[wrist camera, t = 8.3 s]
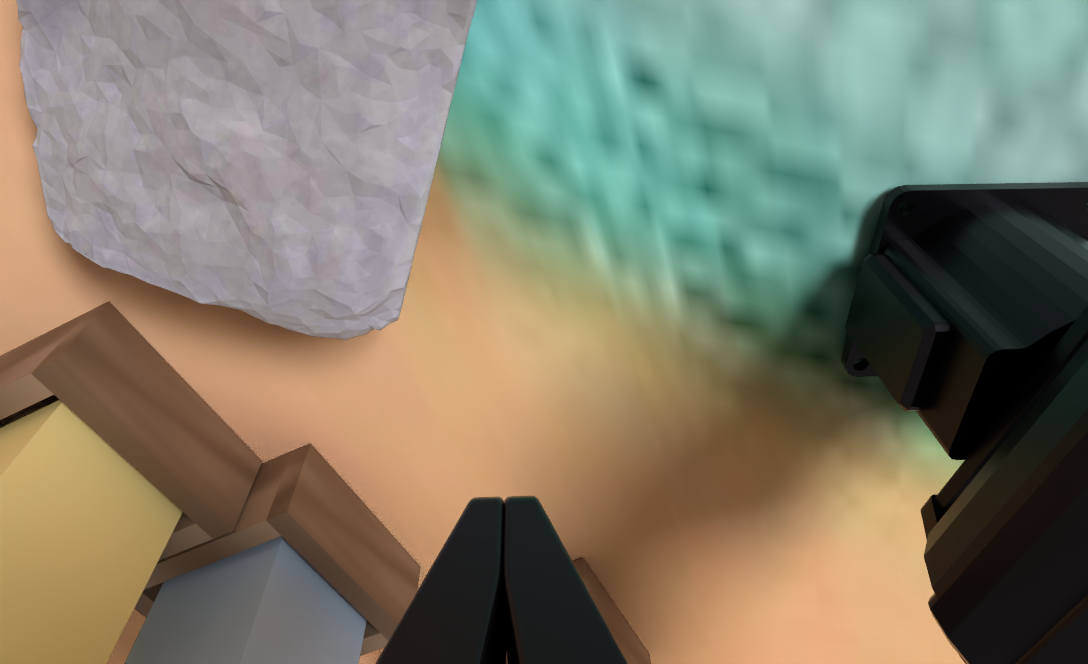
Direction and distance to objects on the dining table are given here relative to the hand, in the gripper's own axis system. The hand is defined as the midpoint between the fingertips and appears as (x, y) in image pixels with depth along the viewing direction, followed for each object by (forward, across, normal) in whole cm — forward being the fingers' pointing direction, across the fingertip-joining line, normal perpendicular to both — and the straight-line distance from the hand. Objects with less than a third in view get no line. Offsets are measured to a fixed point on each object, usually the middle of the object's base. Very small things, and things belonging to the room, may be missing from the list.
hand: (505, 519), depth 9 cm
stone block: (+14, +6, -3) cm, 15 cm away
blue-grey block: (+12, +9, +15) cm, 21 cm away
